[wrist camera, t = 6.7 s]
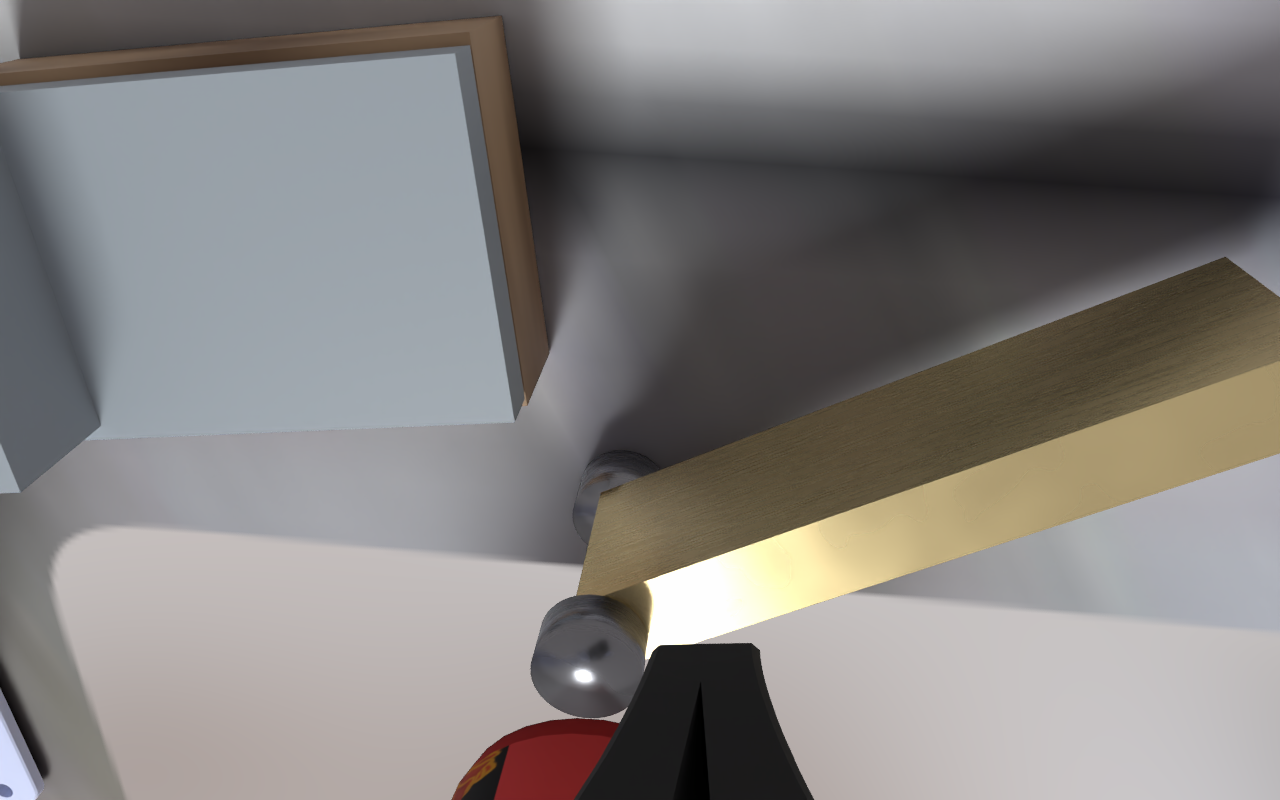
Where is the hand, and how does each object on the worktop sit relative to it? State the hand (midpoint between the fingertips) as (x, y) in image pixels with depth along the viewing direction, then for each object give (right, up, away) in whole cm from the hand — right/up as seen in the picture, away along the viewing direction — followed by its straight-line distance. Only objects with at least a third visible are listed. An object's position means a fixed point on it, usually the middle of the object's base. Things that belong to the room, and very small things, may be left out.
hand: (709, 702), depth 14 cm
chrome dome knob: (-1, +2, +10) cm, 10 cm away
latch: (+4, +4, +7) cm, 9 cm away
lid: (-8, +7, +6) cm, 12 cm away
